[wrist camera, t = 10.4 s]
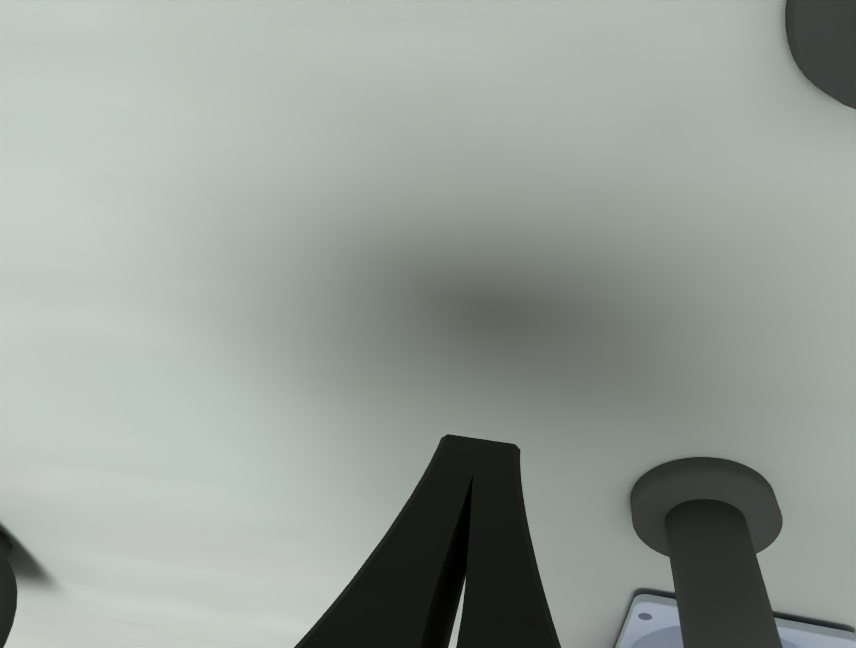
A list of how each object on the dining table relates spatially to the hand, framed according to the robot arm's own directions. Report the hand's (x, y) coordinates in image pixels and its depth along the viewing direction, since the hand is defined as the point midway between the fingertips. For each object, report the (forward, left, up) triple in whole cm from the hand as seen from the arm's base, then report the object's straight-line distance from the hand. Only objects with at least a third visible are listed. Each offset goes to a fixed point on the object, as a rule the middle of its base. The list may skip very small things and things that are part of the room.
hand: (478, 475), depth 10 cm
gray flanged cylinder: (-8, -7, -6) cm, 12 cm away
